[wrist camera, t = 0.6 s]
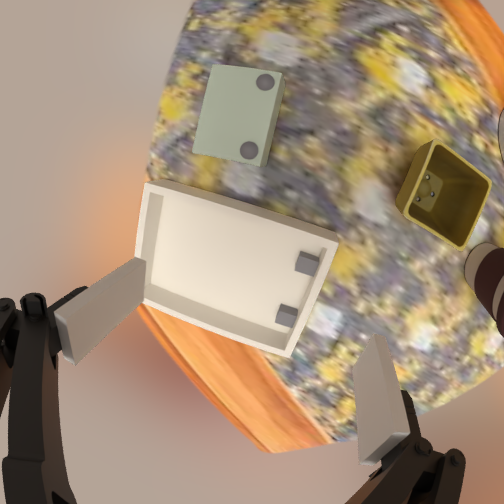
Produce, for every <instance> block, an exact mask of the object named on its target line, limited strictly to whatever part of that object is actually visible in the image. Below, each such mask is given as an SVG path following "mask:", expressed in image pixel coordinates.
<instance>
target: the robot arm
mask: <svg viewBox="0 0 504 504" xmlns="http://www.w3.org/2000/svg"><path fill="white" fill-rule="evenodd" d="M145 273H146V261H145V260H143V259H140V258H137V257H135V258H133V259H131V260H130V261H128V262H127V263H125V264H124V265H122V266H121V267H119V268H117V269H116V270H115V271H113V272H111V273H110V274H108V275H107V276H105V277H104V278H102V279H101V280H99V281H98V282H96V283H95V284H93V285H92V286H90V287H87V286H83V287H80V288H76V289H75V290H73V291H72V292H70V293H69V294H67V295H66V296H64V298H61V299H60V300H58V301H57V302H55V303H54V304H53V305H51V306H50V307H48V308H47V305H46V299H45V297H44V296H43V295H41V294H40V293H29V294H26V295H25V296H23V297H22V298H21V300H20V304H21V308H22V311H21V310H18V309H16V306H15V302H14V301H13V300H12V299H10V298H1V299H0V417H1V414H2V410H3V407H4V404H5V401H6V398H7V395H8V392H9V390H10V400H9V416H8V450H9V451H8V456H7V457H5V458H4V459H3V461H2V474H3V483H4V492H5V499H6V504H77V503H76V499H75V497H74V494H73V492H72V490H71V488H70V485H69V482H68V477H67V472H66V467H65V460H64V454H63V447H62V438H61V429H60V417H59V400H58V354H57V353H58V352H59V351H60V350H62V352H63V355H64V358H65V359H66V360H68V361H69V362H71V363H72V364H74V365H75V366H76V365H77V364H78V363H79V362H80V361H81V360H82V359H83V358H84V357H85V356H86V355H87V354H88V353H89V352H90V351H91V350H92V349H93V348H94V347H95V346H96V345H97V344H98V343H99V342H100V341H102V339H104V338H105V337H106V336H107V335H108V334H109V333H110V332H111V331H112V330H113V329H114V328H115V327H116V326H117V325H118V324H119V323H120V322H122V321H123V320H124V319H125V318H126V317H127V316H128V315H129V314H130V313H131V312H132V311H133V310H135V309H136V308H137V307H138V306H139V305H140V304H141V303H142V302H143V301H144V288H145ZM2 340H3V341H2ZM352 372H353V381H354V391H355V403H356V416H357V431H358V453H359V464H360V465H375V464H376V463H377V462H378V461H379V460H381V464H382V466H381V467H380V468H378V469H377V470H376V471H375V472H373V473H372V474H371V475H370V476H369V477H370V478H369V480H368V481H367V482H366V483H365V484H364V485H363V486H362V487H361V488H360V489H359V490H358V491H357V492H356V493H355V494H354V495H353V496H352V497H351V498H350V499H349V500H348V501H347V502H346V503H345V504H458V502H459V497H460V493H461V488H462V483H463V477H464V471H465V464H466V461H465V457H464V455H463V453H462V452H461V451H459V450H458V449H450V450H449V451H448V452H447V453H445V454H442V453H439V452H436V451H433V447H432V445H431V443H430V442H429V441H428V440H426V439H425V438H423V437H421V433H420V428H419V424H418V420H417V416H416V415H415V414H416V412H415V408H414V405H413V401H412V398H411V397H410V395H409V394H408V392H407V391H404V390H400V386H399V382H398V379H397V375H396V371H395V368H394V364H393V361H392V358H391V354H390V351H389V348H388V344H387V341H386V338H385V336H381V335H377V334H374V333H373V335H372V337H371V338H370V340H369V342H368V344H367V345H366V347H365V349H364V351H363V352H362V354H361V356H360V357H359V359H358V361H357V362H356V364H355V365H354V367H353V369H352ZM10 387H11V388H10Z"/></svg>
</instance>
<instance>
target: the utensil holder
mask: <svg viewBox="0 0 504 504" xmlns="http://www.w3.org/2000/svg"><path fill="white" fill-rule="evenodd" d="M499 144H500V150H501V154H502V158H503V161H504V110H503V112H502V114H501V117H500V121H499Z"/></svg>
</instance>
